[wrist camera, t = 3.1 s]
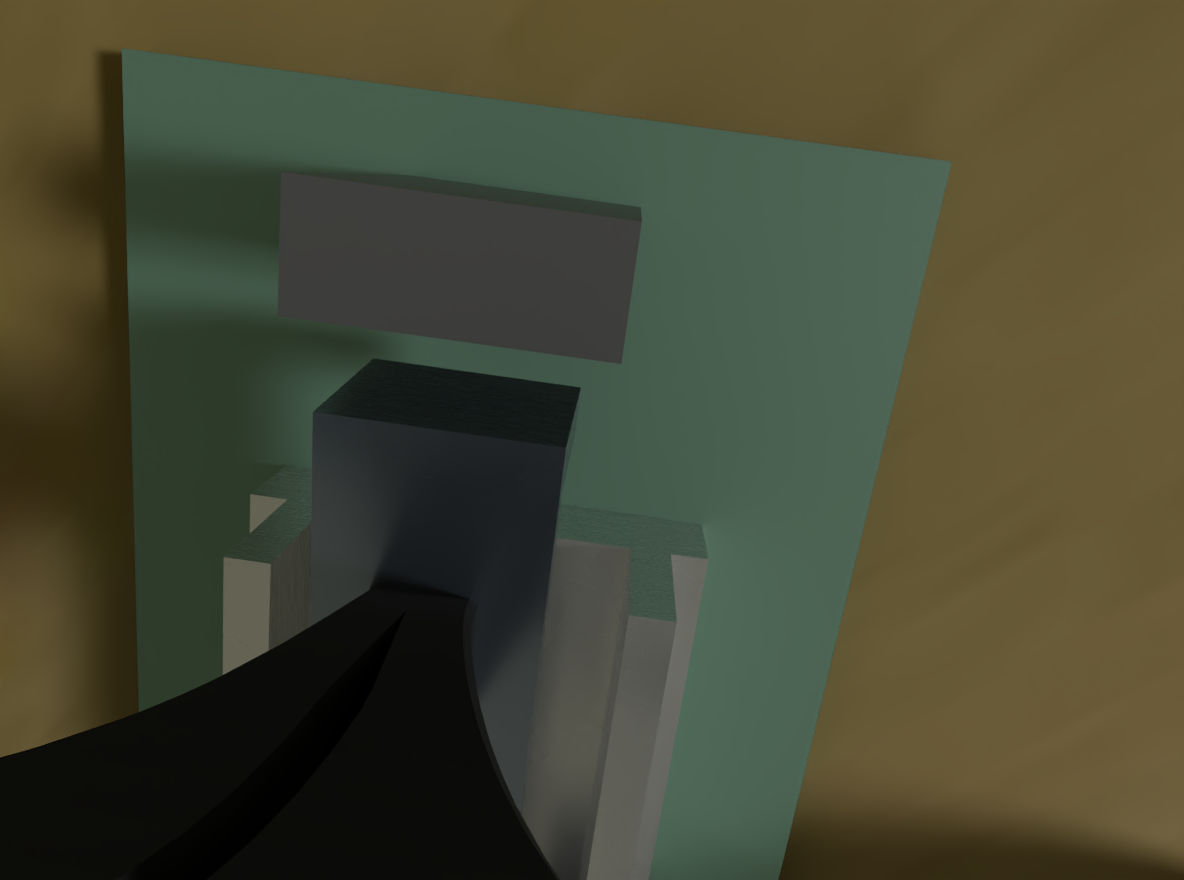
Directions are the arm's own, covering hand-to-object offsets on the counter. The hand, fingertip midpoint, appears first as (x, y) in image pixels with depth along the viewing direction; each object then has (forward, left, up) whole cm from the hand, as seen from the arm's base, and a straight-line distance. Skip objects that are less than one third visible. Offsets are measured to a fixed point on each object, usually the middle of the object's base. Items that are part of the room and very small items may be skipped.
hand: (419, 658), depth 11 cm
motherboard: (-2, -2, -6) cm, 7 cm away
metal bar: (-2, -2, -3) cm, 4 cm away
